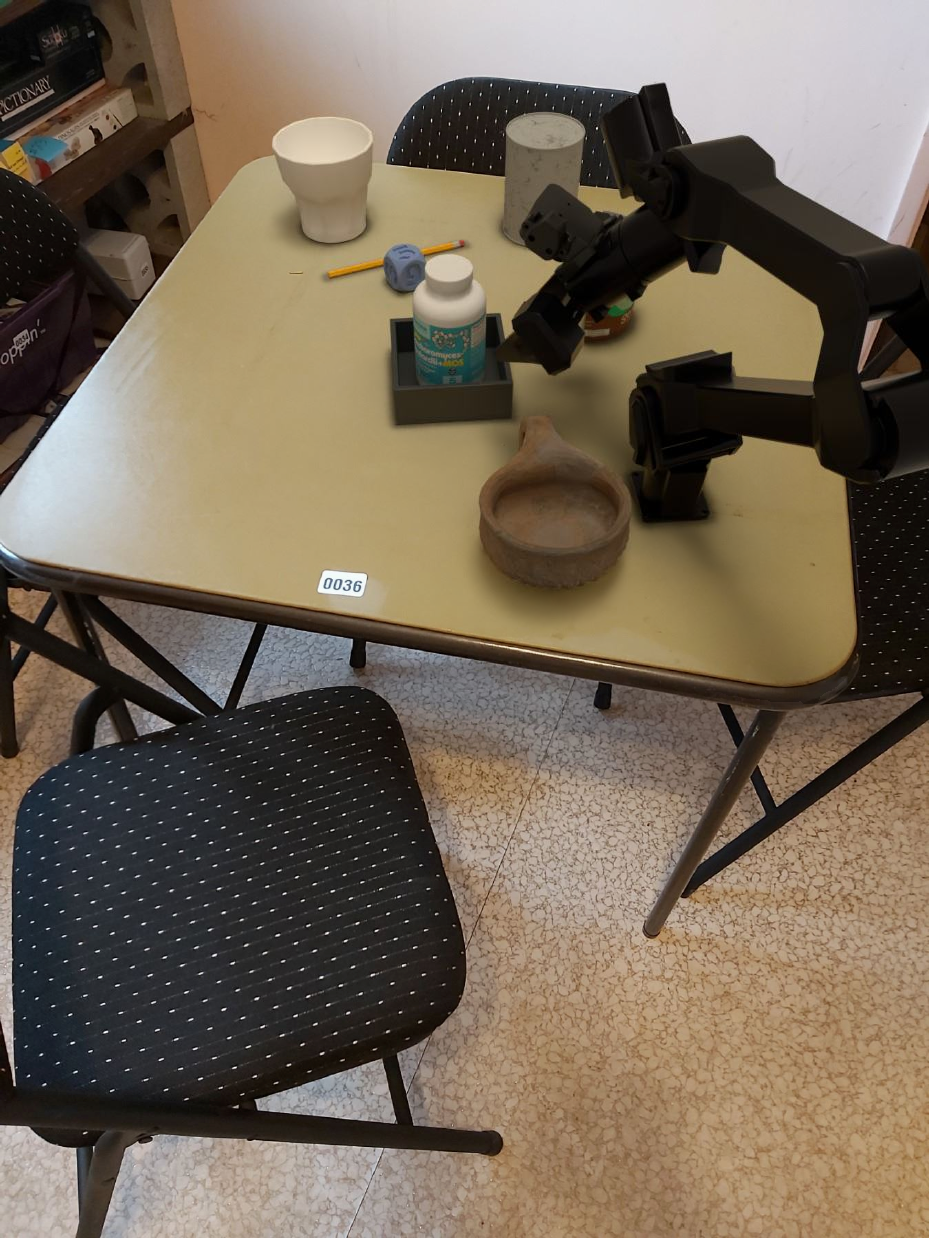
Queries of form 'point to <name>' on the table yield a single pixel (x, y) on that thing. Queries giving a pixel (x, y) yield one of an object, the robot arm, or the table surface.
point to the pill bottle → (449, 323)
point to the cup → (327, 174)
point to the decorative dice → (404, 267)
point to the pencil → (380, 262)
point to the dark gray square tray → (455, 397)
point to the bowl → (553, 512)
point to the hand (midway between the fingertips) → (514, 330)
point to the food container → (609, 317)
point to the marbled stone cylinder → (539, 163)
